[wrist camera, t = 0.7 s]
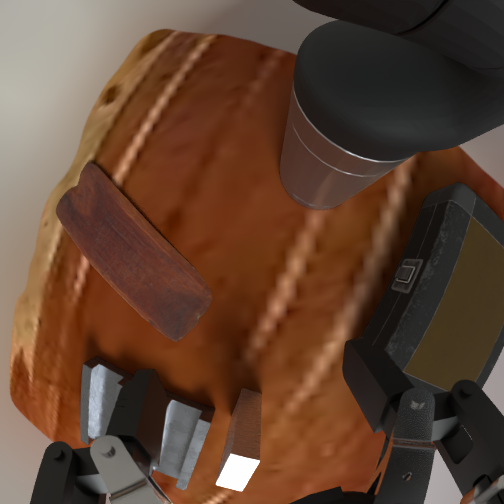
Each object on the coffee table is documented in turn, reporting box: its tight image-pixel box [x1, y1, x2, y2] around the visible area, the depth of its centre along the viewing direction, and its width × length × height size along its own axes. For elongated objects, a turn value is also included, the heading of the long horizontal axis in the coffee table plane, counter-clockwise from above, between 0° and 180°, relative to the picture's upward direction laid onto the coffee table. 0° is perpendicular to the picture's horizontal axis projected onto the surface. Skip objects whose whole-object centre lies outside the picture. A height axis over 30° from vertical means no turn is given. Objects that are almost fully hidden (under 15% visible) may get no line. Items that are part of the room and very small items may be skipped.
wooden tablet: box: [56, 163, 213, 341], centre depth 31 cm, size 27×10×2 cm, turn 47°
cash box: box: [361, 182, 504, 394], centre depth 26 cm, size 25×20×8 cm
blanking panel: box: [216, 388, 262, 491], centre depth 24 cm, size 5×2×13 cm, turn 162°
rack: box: [81, 356, 215, 490], centre depth 30 cm, size 16×18×4 cm
